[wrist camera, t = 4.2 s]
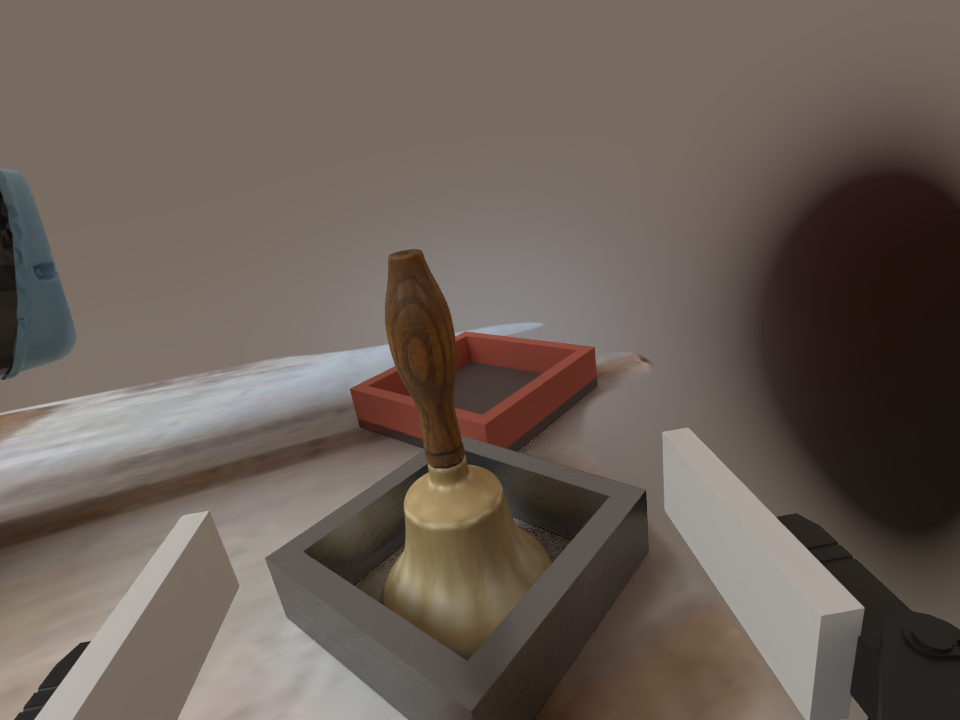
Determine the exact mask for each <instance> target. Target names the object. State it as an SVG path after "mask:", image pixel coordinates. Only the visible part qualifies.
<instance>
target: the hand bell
mask: <svg viewBox="0 0 960 720" xmlns="http://www.w3.org/2000/svg"><path fill="white" fill-rule="evenodd" d="M388 265H389V266H388V284H387V293H386V301H385V325H386V333H387V338H388V342H389V346H390V350H391V354H392V357H393V360H394V363H395V366H396V368H397V371H398V373H399V375H400V378H401V380H402V381H403V383H404V385H405V387H406V388H407V390H408V392H409V393H410V395H411V397H412V399H413V401H414V403H415V406H416V409H417V412H418V415H419V420H420V426H421V432H422V438H423V444H424V448H425V458H426V462H427V463H428V470H429V472H428V473H427V474H425V475H423V476H422V477H420V478H419V479H418V480H417V481H415V482H414V484H413V485H412V486H411V487H410V488H409V490H408V492H407V494H406V496H405V501H404V514H405V525H406V538H405V549H404V551H403V552H402V554H401V555H400V556H399V557H398V559H397V560H396V562H395V563H394V565H393V566H392V568H391V570H390V572H389V575H388V577H387V580H386V583H385V586H384V590H383V596H382V605H384V606H385V607H387V608H388V609H390V610H391V611H393V612H394V613H396V614H397V615H399V616H400V617H402V618H403V619H405V620H406V621H408V622H409V623H411V624H412V625H414V626H415V627H417V628H418V629H420V630H421V631H423V632H425V633H426V634H428V635H429V636H431V637H432V638H434V639H435V640H437V641H438V642H440V643H441V644H443V645H444V646H446V647H447V648H449V649H450V650H452V651H453V652H455V653H456V654H458V655H459V656H461V657H462V658H464V659H465V660H469V659H470V658H471V657H472V655H473V654H474V653H475V652H476V651H477V650H478V648H479V647H480V646H481V645H482V644H483V643H484V641H485V640H486V639H487V638H488V637H489V636H490V635H491V633H492V632H493V631H494V630H495V629H496V628H497V626H498V625H499V624H500V623H501V622H502V621H503V620H504V618H505V617H506V616H507V615H508V614H509V613H510V611H511V610H512V609H513V608H514V607H515V606H516V604H517V603H518V602H519V601H520V600H521V599H522V598H523V596H524V595H525V594H526V593H527V592H528V591H529V589H530V588H531V587H532V586H533V585H534V584H535V583H536V581H537V580H538V579H539V578H540V577H541V576H542V574H543V573H544V572H545V571H546V570H547V569H548V567H549V566H550V565H551V564H552V563H553V562H552V559H551V557H550V555H549V554H548V552H547V551H546V549H545V548H544V547H543V545H542V544H541V543H540V542H539V541H538V540H537V539H536V538H535V537H534V536H532V535H531V534H530V533H528V532H527V531H525V530H523V529H522V528H520V527H518V526H517V525H516V524H515V522H514V520H513V518H512V516H511V514H510V511H509V508H508V505H507V502H506V499H505V495H504V491H503V488H502V485H501V483H500V481H499V479H498V478H497V477H496V476H495V475H494V474H493V473H492V472H490V471H488V470H487V469H484V468H482V467H479V466H475V465H468V464H467V459H466V456H465V449H464V445H463V443H462V438H461V433H460V429H459V425H458V421H457V416H456V412H455V406H454V384H455V377H456V365H457V354H456V341H455V334H454V328H453V323H452V318H451V314H450V311H449V308H448V305H447V302H446V300H445V298H444V296H443V294H442V292H441V290H440V288H439V286H438V284H437V282H436V280H435V279H434V277H433V275H432V274H431V272H430V270H429V268H428V265H427V263H426V261H425V259H424V255H423V253H422V251H421V250H417V249H411V250H405V251H400V252H396V253H393V254H391V255H389V256H388Z"/></svg>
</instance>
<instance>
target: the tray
mask: <svg viewBox="0 0 960 720" xmlns="http://www.w3.org/2000/svg"><path fill="white" fill-rule="evenodd" d="M455 341H456V354H457V365H456V377H455V384H454V406H455V412H456V416H457V421H458V425H459V429H460V433H461V436H465V437H468V438H471V439H475V440H478V441H482V442H485V443H488V444H492V445H495V446H499V447H502V448H505V449H509V450H512V451H516V452H517V451H518V450H519V449H520V448H522V447H523V446H524V445H525V444H526V443H528V442H529V441H530V440H531V439H533V438H534V437H535V436H536V435H537V434H539V433H540V432H541V431H542V430H544V429H545V428H546V427H547V426H548V425H550V424H551V423H552V422H553V421H555V420H556V419H557V418H558V417H559V416H561V415H562V414H563V413H564V412H566V411H567V410H568V409H569V408H570V407H572V406H573V405H574V404H575V403H577V402H578V401H579V400H580V399H581V398H583V397H584V396H585V395H586V394H588V393H589V392H590V391H591V390H593V389H594V388H595V387H596V386H597V374H596V360H595V347H589V346H580V345H573V344H564V343H556V342H548V341H539V340H530V339H522V338H514V337H506V336H498V335H490V334H481V333H473V332H464V333H462V334H460V335H458V336H456V337H455ZM350 391H351V395H352V399H353V403H354V407H355V411H356V414H357V418H358V422H359V426H360V427H362V428H365V429H368V430H371V431H374V432H377V433H380V434H383V435H386V436H389V437H392V438H395V439H398V440H401V441H404V442H407V443H410V444H413V445H416V446H419V447H422V448H424V444H423V438H422V432H421V426H420V420H419V415H418V412H417V409H416V406H415V403H414V401H413V399H412V397H411V395H410V393H409V392H408V390H407V388H406V387H405V385H404V383H403V381H402V380H401V378H400V375H399V373H398V371H397V368H396V366H395V367H393V368H391V369H389V370H387V371H385V372H383V373H381V374H379V375H377V376H375V377H373V378H371V379H369V380H367V381H365V382H363V383H361V384H359V385H357V386H355V387H353V388H351V389H350Z"/></svg>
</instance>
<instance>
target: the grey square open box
mask: <svg viewBox="0 0 960 720" xmlns="http://www.w3.org/2000/svg"><path fill="white" fill-rule="evenodd" d="M461 438H462V443H463V445H464V449H465V456H466V459H467V464H468V465H475V466H479V467H482V468H484V469H487V470H488V471H490V472H492V473H493V474H494V475H495V476H496V477H497V478H498V479H499V481H500V483H501V485H502V488H503V491H504V495H505V499H506V502H507V505H508V508H509V511H510V514H511V516H512V517H515V518H517V519H520V520H522V521H525V522H527V523H530V524H532V525H535V526H537V527H540V528H542V529H545V530H548V531H550V532H553V533H555V534H558V535H560V536H563V537H565V538H568V539H570V540H572V541H571V542H570V543H569V544H568V546H567V547H566V548H565V549H564V550H563V551H562V552H561V554H560V555H559V556H558V557H557V558H556V559H555V561H554V562H553V563H552V564H551V565H550V566H549V567H548V569H547V570H546V571H545V572H544V573H543V574H542V576H541V577H540V578H539V579H538V580H537V581H536V583H535V584H534V585H533V586H532V587H531V588H530V589H529V591H528V592H527V593H526V594H525V595H524V596H523V598H522V599H521V600H520V601H519V602H518V603H517V604H516V606H515V607H514V608H513V609H512V610H511V611H510V613H509V614H508V615H507V616H506V617H505V618H504V620H503V621H502V622H501V623H500V624H499V625H498V626H497V628H496V629H495V630H494V631H493V632H492V633H491V635H490V636H489V637H488V638H487V639H486V640H485V641H484V643H483V644H482V645H481V646H480V647H479V648H478V650H477V651H476V652H475V653H474V654H473V655H472V657H471V658H470V659H469V660H468V661H467V660H465V659H464V658H462V657H461V656H459V655H458V654H456V653H455V652H453V651H452V650H450V649H449V648H447V647H446V646H444V645H443V644H441V643H440V642H438V641H437V640H435V639H434V638H432V637H431V636H429V635H428V634H426V633H425V632H423V631H421V630H420V629H418V628H417V627H415V626H414V625H412V624H411V623H409V622H408V621H406V620H405V619H403V618H402V617H400V616H399V615H397V614H396V613H394V612H393V611H391V610H390V609H388V608H387V607H385V606H384V605H382V604H381V603H379V602H378V601H376V600H375V599H373V598H372V597H370V596H369V595H367V594H366V593H364V592H363V591H361V590H360V589H358V588H357V587H355V586H354V584H355V583H356V582H358V581H359V580H360V579H361V578H362V577H364V576H365V575H366V574H367V573H369V572H370V571H371V570H372V569H373V568H375V567H376V566H377V565H378V564H380V563H381V562H382V561H383V560H384V559H386V558H387V557H388V556H389V555H391V554H392V553H393V552H394V551H395V550H397V549H398V548H399V547H400V546H402V545H403V544H404V543H405V538H406V525H405V514H404V501H405V496H406V494H407V492H408V490H409V488H410V487H411V486H412V485H413V484H414V482H415V481H417V480H418V479H419V478H420V477H422V476H423V475H425V474H427V473H428V472H429V470H428V463H427V462H426V458H425V450H424V451H423V452H421V453H420V454H418V455H417V456H416V457H414V458H413V459H411V460H410V461H408V462H407V463H405V464H404V465H402V466H401V467H399V468H398V469H396V470H395V471H393V472H392V473H390V474H389V475H387V476H386V477H384V478H383V479H382V480H380V481H379V482H377V483H376V484H374V485H373V486H371V487H370V488H368V489H367V490H365V491H364V492H362V493H361V494H359V495H358V496H356V497H355V498H353V499H352V500H350V501H349V502H348V503H346V504H345V505H343V506H342V507H340V508H339V509H337V510H336V511H334V512H333V513H331V514H330V515H328V516H327V517H325V518H324V519H322V520H321V521H319V522H318V523H316V524H315V525H314V526H312V527H311V528H309V529H308V530H306V531H305V532H303V533H302V534H300V535H299V536H297V537H296V538H294V539H293V540H291V541H290V542H288V543H287V544H285V545H284V546H282V547H281V548H280V549H278V550H277V551H275V552H274V553H272V554H271V555H269V556H268V557H266V558H265V560H266V562H267V565H268V568H269V570H270V573H271V576H272V579H273V581H274V584H275V587H276V589H277V592H278V595H279V597H280V600H281V603H282V606H283V608H284V611H285V614H286V616H287V618H289V619H290V620H291V621H292V622H293V623H295V624H296V625H297V626H298V627H299V628H300V629H302V630H303V631H304V632H305V633H306V634H308V635H309V636H310V637H311V638H312V639H314V640H315V641H316V642H317V643H318V644H319V645H321V646H322V647H323V648H324V649H325V650H327V651H328V652H329V653H330V654H331V655H333V656H334V657H335V658H336V659H337V660H338V661H340V662H341V663H342V664H343V665H344V666H346V667H347V668H348V669H349V670H350V671H351V672H353V673H354V674H355V675H356V676H357V677H359V678H360V679H361V680H362V681H363V682H365V683H366V684H367V685H368V686H369V687H370V688H372V689H373V690H374V691H375V692H376V693H378V694H379V695H380V696H381V697H382V698H384V699H385V700H386V701H387V702H388V703H389V704H391V705H392V706H393V707H394V708H395V709H397V710H398V711H399V712H400V713H401V714H403V715H404V716H405V717H406V718H407V719H408V720H534V718H535V717H536V715H537V714H538V712H539V711H540V709H541V708H542V706H543V705H544V703H545V702H546V700H547V699H548V698H549V696H550V695H551V693H552V692H553V690H554V689H555V687H556V686H557V684H558V683H559V681H560V680H561V678H562V677H563V676H564V674H565V673H566V671H567V670H568V668H569V667H570V665H571V664H572V662H573V661H574V659H575V658H576V656H577V655H578V654H579V652H580V651H581V649H582V648H583V646H584V645H585V643H586V642H587V640H588V639H589V637H590V636H591V634H592V633H593V632H594V630H595V629H596V627H597V626H598V624H599V623H600V621H601V620H602V618H603V617H604V615H605V614H606V612H607V611H608V609H609V608H610V607H611V605H612V604H613V602H614V601H615V599H616V598H617V596H618V595H619V593H620V592H621V590H622V589H623V587H624V586H625V585H626V583H627V582H628V580H629V579H630V577H631V576H632V574H633V573H634V571H635V570H636V568H637V567H638V565H639V564H640V563H641V561H642V560H643V558H644V557H645V555H646V554H647V552H648V551H649V548H648V524H647V500H646V490H645V489H641V488H638V487H634V486H631V485H628V484H624V483H621V482H617V481H614V480H611V479H607V478H604V477H600V476H597V475H594V474H590V473H587V472H583V471H580V470H577V469H573V468H570V467H566V466H563V465H560V464H556V463H553V462H549V461H546V460H543V459H539V458H536V457H533V456H529V455H526V454H522V453H519V452H516V451H512V450H509V449H505V448H502V447H499V446H495V445H492V444H488V443H485V442H482V441H478V440H475V439H471V438H468V437H465V436H461Z"/></svg>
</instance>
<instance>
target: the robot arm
mask: <svg viewBox="0 0 960 720" xmlns="http://www.w3.org/2000/svg"><path fill="white" fill-rule="evenodd" d="M75 342H76V333H75V328H74V324H73V320H72V317H71V314H70V310H69V307H68V304H67V301H66V297H65V294H64V291H63V288H62V284H61V281H60V279H59V275H58V272H57V270H56V267H55V262H54V259H53V257H52V253H51V249H50V246H49V243H48V239H47V236H46V233H45V230H44V227H43V224H42V221H41V218H40V215H39V212H38V209H37V206H36V203H35V200H34V197H33V194H32V191H31V188H30V186H29V183H28V180H27V179H26V177H25V176H24V175H23V174H21V173H20V172H18V171H15V170H11V169H0V380H7V379H11V378H13V377H15V376H16V375H18V374H19V373H20V372H23V371H26V370H29V369H33V368H36V367H39V366H42V365H46V364H49V363H52V362H55V361H58V360H60V359H62V358H64V357H65V356H67V355H68V354H69V353H70V352H71V350H72V349H73V347H74V345H75ZM662 436H663V475H664V510H665V512H666V513H667V515H668V516H669V518H670V519H671V521H672V522H673V524H674V525H675V527H676V528H677V530H678V531H679V533H680V534H681V536H682V537H683V539H684V540H685V542H686V543H687V544H688V546H689V547H690V549H691V551H692V552H693V554H694V555H695V556H696V558H697V559H698V561H699V562H700V564H701V565H702V567H703V568H704V570H705V571H706V573H707V574H708V576H709V577H710V579H711V580H712V581H713V583H714V585H715V586H716V588H717V589H718V591H719V592H720V594H721V595H722V597H723V598H724V600H725V601H726V603H727V604H728V606H729V607H730V609H731V610H732V612H733V613H734V614H735V616H736V617H737V619H738V620H739V622H740V623H741V625H742V626H743V628H744V629H745V631H746V632H747V634H748V635H749V637H750V638H751V640H752V641H753V643H754V644H755V646H756V647H757V649H758V650H759V652H760V653H761V655H762V656H763V658H764V659H765V661H766V662H767V664H768V665H769V667H770V668H771V669H772V671H773V672H774V674H775V675H776V677H777V678H778V680H779V681H780V683H781V684H782V686H783V687H784V689H785V690H786V692H787V693H788V695H789V696H790V698H791V699H792V701H793V702H794V704H795V705H796V707H797V708H798V710H799V711H800V713H801V714H802V716H803V717H804V719H805V720H840V719H845V718H848V716H849V709H850V702H851V696H852V697H853V698H854V699H855V700H856V702H857V703H858V704H859V705H860V707H861V708H862V709H863V711H864V712H865V713H866V714H867V716H868V720H960V630H959V629H958V628H956V627H955V626H953V625H952V624H950V623H948V622H946V621H944V620H941V619H938V618H936V617H934V616H931V615H928V614H923V613H917V612H913V611H911V610H910V609H909V608H908V607H907V606H906V605H905V604H904V603H903V602H902V601H900V600H899V599H898V598H897V597H896V596H895V595H894V594H893V593H892V592H891V591H890V590H889V589H888V588H887V587H885V586H884V585H883V584H882V583H881V582H880V581H879V580H878V579H877V578H876V577H875V576H874V575H873V574H871V573H870V572H869V571H868V570H867V569H866V568H865V567H864V566H863V565H862V564H861V563H859V562H858V561H857V560H856V559H853V557H852V555H851V554H850V553H849V552H848V551H846V550H845V549H844V548H843V547H842V546H839V545H838V542H837V541H836V540H835V539H833V537H832V536H830V535H829V534H828V533H827V532H826V531H825V530H824V529H823V528H822V527H821V526H819V525H817V524H816V523H814V522H812V521H810V520H808V519H806V518H804V517H802V516H800V515H799V514H797V513H796V514H791V515H785V516H779V517H775V516H774V515H773V514H772V513H771V512H770V511H769V510H768V509H767V508H766V507H765V506H764V505H763V503H762V502H760V501H759V499H758V498H756V496H755V495H754V494H753V493H752V492H751V491H750V490H749V489H748V488H747V487H746V486H745V485H744V484H743V483H742V482H741V481H740V480H739V479H738V478H737V477H736V476H735V475H734V474H733V473H732V472H731V471H730V470H729V469H728V468H727V467H726V466H725V465H724V464H723V463H722V462H721V461H720V460H719V459H718V458H717V456H715V454H714V453H713V452H712V451H711V450H710V449H709V448H708V447H707V446H706V445H705V444H704V443H703V442H702V441H701V440H700V439H699V438H698V437H697V436H696V435H695V434H694V433H693V432H692V431H691V430H690V429H689V428H682V429H677V430H671V431H665V432H662ZM238 588H239V583H238V581H237V578H236V576H235V573H234V571H233V568H232V566H231V563H230V561H229V558H228V556H227V553H226V551H225V548H224V546H223V543H222V541H221V538H220V536H219V533H218V531H217V528H216V526H215V523H214V521H213V518H212V516H211V513H210V511H204V512H199V513H193V514H187V515H182V516H181V518H180V519H179V521H178V522H177V523H176V525H175V526H174V528H173V529H172V530H171V532H170V533H169V534H168V536H167V537H166V539H165V540H164V541H163V543H162V544H161V545H160V547H159V548H158V550H157V551H156V552H155V554H154V555H153V557H152V558H151V559H150V561H149V562H148V563H147V565H146V566H145V568H144V569H143V570H142V572H141V573H140V574H139V576H138V577H137V579H136V580H135V581H134V583H133V584H132V586H131V587H130V588H129V590H128V591H127V592H126V594H125V595H124V597H123V598H122V599H121V601H120V602H119V603H118V605H117V606H116V608H115V609H114V610H113V612H112V613H111V615H110V616H109V617H108V619H107V620H106V621H105V623H104V624H103V626H102V627H101V628H100V630H99V631H98V632H97V634H96V635H95V637H94V638H93V639H92V641H89V642H83V643H80V644H79V645H78V646H77V647H75V648H74V649H73V650H72V651H71V652H70V653H69V654H68V655H66V656H65V657H64V658H63V659H62V660H61V661H60V662H59V663H58V664H56V666H55V667H54V668H53V669H52V671H51V672H50V673H49V675H48V676H47V677H46V679H45V680H44V681H43V683H42V684H41V685H40V687H39V688H38V689H39V690H38V692H37V693H34V694H33V696H32V697H31V698H30V700H29V701H28V702H27V704H26V705H25V706H24V710H23V712H21V713H19V714H18V715H17V717H16V718H15V719H14V720H177V719H178V717H179V715H180V713H181V710H182V708H183V706H184V704H185V702H186V700H187V698H188V695H189V693H190V691H191V689H192V687H193V685H194V682H195V680H196V678H197V676H198V674H199V672H200V670H201V667H202V665H203V663H204V661H205V659H206V657H207V655H208V652H209V650H210V648H211V646H212V644H213V642H214V639H215V637H216V635H217V633H218V631H219V629H220V627H221V624H222V622H223V620H224V618H225V616H226V614H227V612H228V609H229V607H230V605H231V603H232V601H233V599H234V597H235V594H236V592H237V590H238Z"/></svg>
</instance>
